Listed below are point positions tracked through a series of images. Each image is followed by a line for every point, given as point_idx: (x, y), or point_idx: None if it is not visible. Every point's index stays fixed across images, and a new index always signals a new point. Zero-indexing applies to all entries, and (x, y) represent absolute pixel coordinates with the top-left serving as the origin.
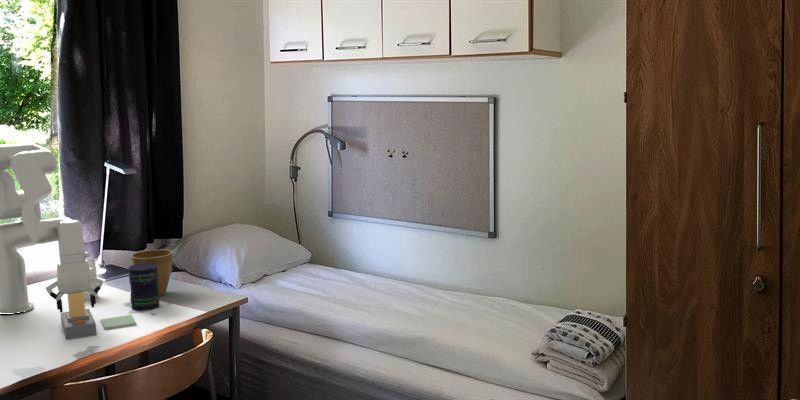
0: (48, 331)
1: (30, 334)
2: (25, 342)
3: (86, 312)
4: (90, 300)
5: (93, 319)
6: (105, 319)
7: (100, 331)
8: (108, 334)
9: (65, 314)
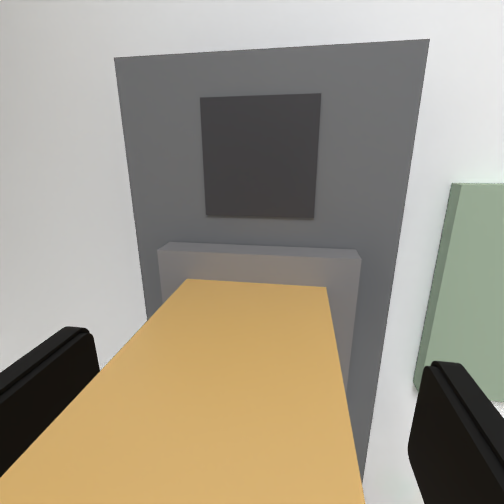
0: (99, 220)
1: (10, 223)
2: (17, 341)
3: (344, 326)
4: (459, 425)
5: (365, 437)
6: (496, 212)
7: (381, 391)
8: (406, 459)
9: (163, 164)
